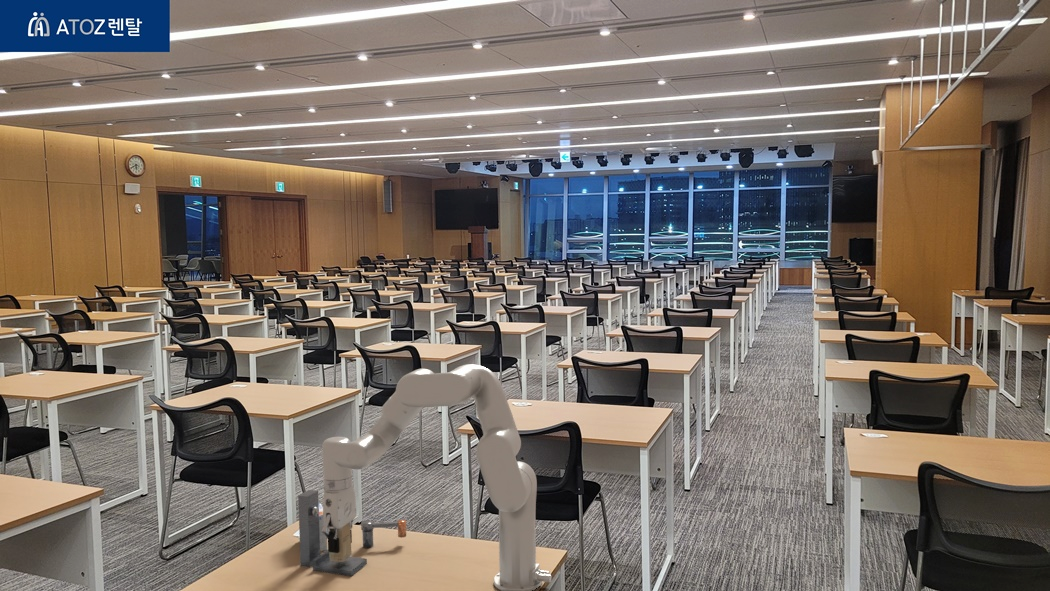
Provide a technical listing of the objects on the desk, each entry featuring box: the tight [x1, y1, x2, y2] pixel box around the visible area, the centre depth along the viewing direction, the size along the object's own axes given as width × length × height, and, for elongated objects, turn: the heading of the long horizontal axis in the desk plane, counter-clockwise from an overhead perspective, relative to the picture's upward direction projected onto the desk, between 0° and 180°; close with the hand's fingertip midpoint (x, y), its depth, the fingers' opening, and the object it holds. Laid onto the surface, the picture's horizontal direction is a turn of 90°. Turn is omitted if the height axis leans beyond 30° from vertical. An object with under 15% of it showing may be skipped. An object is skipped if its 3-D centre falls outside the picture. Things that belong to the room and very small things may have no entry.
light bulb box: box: [319, 503, 328, 552], centre depth 217 cm, size 11×7×11 cm, turn 25°
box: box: [329, 522, 353, 562], centre depth 201 cm, size 5×4×11 cm
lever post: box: [361, 529, 374, 549], centre depth 216 cm, size 3×3×5 cm
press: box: [297, 489, 368, 577], centre depth 202 cm, size 17×8×20 cm, turn 72°
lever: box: [360, 519, 407, 538], centre depth 216 cm, size 13×4×5 cm, turn 97°
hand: (340, 546), depth 202 cm, fingers open, 5 cm apart
